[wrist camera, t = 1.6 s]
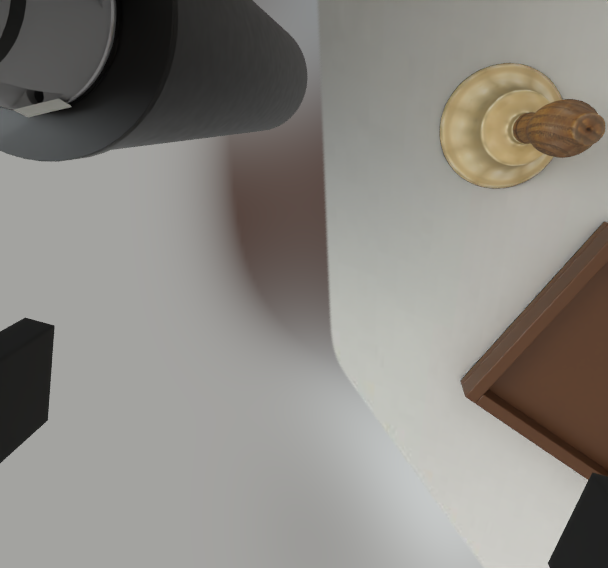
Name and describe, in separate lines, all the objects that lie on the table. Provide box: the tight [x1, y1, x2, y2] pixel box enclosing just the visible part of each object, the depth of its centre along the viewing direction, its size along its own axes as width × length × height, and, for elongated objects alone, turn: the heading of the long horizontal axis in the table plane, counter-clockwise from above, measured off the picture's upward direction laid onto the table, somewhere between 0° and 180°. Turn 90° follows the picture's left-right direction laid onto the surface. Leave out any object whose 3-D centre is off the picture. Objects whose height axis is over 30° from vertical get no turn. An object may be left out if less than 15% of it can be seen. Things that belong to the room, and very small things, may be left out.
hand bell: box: [440, 63, 605, 188], centre depth 29 cm, size 8×8×16 cm
